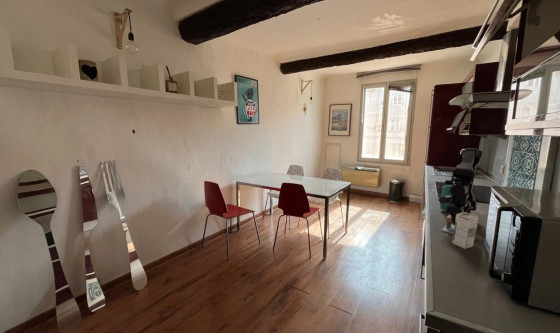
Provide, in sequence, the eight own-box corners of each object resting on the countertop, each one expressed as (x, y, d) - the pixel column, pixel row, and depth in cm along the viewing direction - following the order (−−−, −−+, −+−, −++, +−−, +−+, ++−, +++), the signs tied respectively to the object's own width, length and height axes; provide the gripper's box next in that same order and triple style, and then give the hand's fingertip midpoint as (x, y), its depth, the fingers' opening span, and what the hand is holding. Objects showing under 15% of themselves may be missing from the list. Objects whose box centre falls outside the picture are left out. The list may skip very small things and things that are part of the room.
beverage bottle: (454, 213, 140) (458, 181, 137) (442, 213, 141) (446, 181, 138) (448, 210, 146) (452, 179, 143) (437, 209, 148) (440, 178, 144)
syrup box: (459, 241, 107) (463, 211, 104) (474, 247, 102) (478, 216, 99) (451, 243, 105) (455, 213, 102) (465, 249, 100) (470, 217, 97)
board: (448, 225, 124) (448, 223, 124) (469, 230, 117) (469, 229, 117) (441, 230, 117) (441, 229, 117) (463, 237, 110) (463, 235, 110)
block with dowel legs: (466, 230, 116) (468, 219, 115) (464, 233, 113) (465, 222, 112) (447, 225, 122) (449, 214, 121) (444, 228, 119) (446, 217, 118)
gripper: (447, 186, 126) (443, 213, 129) (435, 192, 114) (432, 222, 117) (473, 190, 117) (468, 219, 120) (463, 197, 106) (459, 229, 108)
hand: (456, 222), depth 117 cm, fingers open, 9 cm apart
